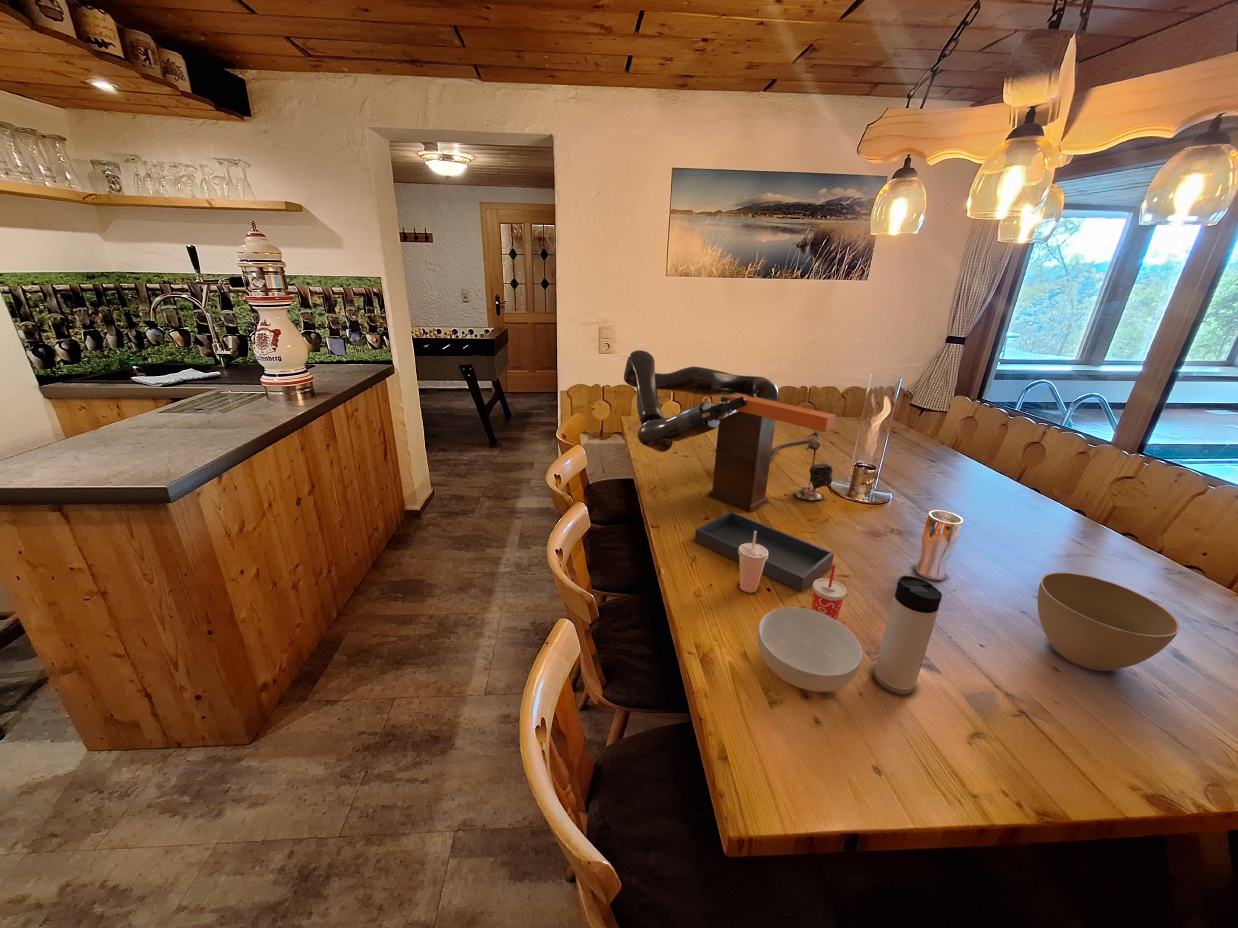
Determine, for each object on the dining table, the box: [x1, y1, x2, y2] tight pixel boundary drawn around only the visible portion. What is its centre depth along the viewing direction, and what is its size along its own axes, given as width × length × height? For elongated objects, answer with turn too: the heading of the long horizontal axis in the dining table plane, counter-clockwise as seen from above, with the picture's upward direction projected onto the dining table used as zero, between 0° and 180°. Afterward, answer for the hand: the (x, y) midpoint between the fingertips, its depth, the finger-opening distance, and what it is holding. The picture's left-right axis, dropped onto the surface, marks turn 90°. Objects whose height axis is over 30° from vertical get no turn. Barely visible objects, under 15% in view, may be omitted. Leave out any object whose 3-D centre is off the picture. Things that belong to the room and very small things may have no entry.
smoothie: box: [738, 531, 768, 593], centre depth 107 cm, size 6×6×14 cm
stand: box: [708, 393, 779, 513], centre depth 147 cm, size 10×15×32 cm, turn 44°
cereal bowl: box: [756, 606, 863, 693], centre depth 86 cm, size 17×17×7 cm
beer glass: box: [914, 509, 964, 581], centre depth 113 cm, size 7×7×15 cm
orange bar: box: [729, 394, 837, 433], centre depth 110 cm, size 4×24×3 cm, turn 43°
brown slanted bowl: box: [1037, 572, 1181, 672], centre depth 89 cm, size 18×18×12 cm
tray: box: [694, 510, 835, 593], centre depth 122 cm, size 16×30×4 cm, turn 44°
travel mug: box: [873, 575, 943, 695], centre depth 81 cm, size 6×7×20 cm
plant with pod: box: [794, 437, 834, 501], centre depth 151 cm, size 8×11×20 cm
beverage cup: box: [810, 564, 848, 621], centre depth 95 cm, size 6×6×14 cm
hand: (750, 399), depth 115 cm, fingers closed on orange bar, 4 cm apart
